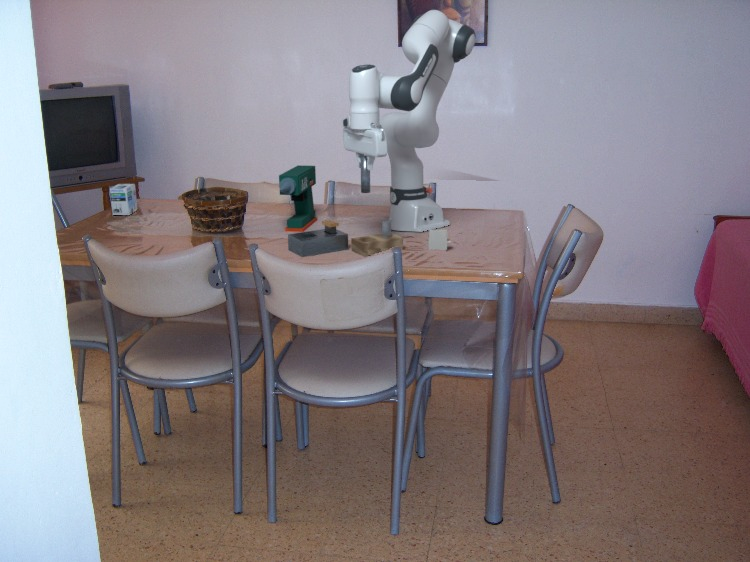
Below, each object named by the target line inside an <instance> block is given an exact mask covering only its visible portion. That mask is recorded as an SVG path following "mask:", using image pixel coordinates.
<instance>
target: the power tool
mask: <svg viewBox="0 0 750 562" xmlns="http://www.w3.org/2000/svg"><path fill="white" fill-rule="evenodd" d="M316 176H317V175H316V165H296V166H294V167H292V168H290V169H289V170H286V171H284V172H283V173H281V174H279V175H278V188H279V195H280V196H281V195H282V196H290V201H291V202H293V204H294V213H295V214H293V215H292V216H291V217H289V218H288V219H286V227H285V228H284V231H285V232H294V233H301V232H306V230H308V229H309V228H310V227H311V226H313V225H314V223H316V222H317V221H318V220H319V219H318V216H316V215H317V214H316V210H315V205H314V204H315V203H314V197H313V186H315V185H317V180H316V179H317V178H316Z"/></svg>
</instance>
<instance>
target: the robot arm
mask: <svg viewBox="0 0 750 562" xmlns="http://www.w3.org/2000/svg"><path fill="white" fill-rule="evenodd" d="M475 44H476V32H475V29H473V27H471V26H470V25H467V24H463V23H461V22H458V21H456V20H454V19H451V18H448V17H447V15H446V14H445V13H444V12H442V11H440V10H438V9H430V10H428V11H427V12H425V13H421V14H419V15H417V16H416V17H415V18H414V19H413V21H412V24H411V26H410V28H409V29H408V30H407V31H406V32H405V33H404V36H403V37H402V41H401V49H402V52H403V54H404V56H405V57H406V59H407V60H408V61H409V62H410V63H411V64H413V65H414V66H413V69H412V70H411V72H410V73H408V74H405V75H404V74H403V75H385V74H384V73H381V72H380V71H379V70H378V68H377V66H376V65H374V64H362V65H361V64H360V65H356V66H355V67H353V68H352V69H351V71H350V73H349V81H348V97H349V102H350V108H349V115H348V116H346V117H344V118H343V119H342V120H341V126H342V127H343V130H342V132H343V133H342V138H343V139H342V140H343V146H344V149H345V151H348V152H352V153H355V158H356V159H357V163H358V164H357V165H358V166H357V167H358V168H359V169H361V156H362V155H367V159H368V160H367V164H365V166H366V167H365V169H366V170H370V171H373V170H374V162H375V160H376V158H384V157H387V155H388V159H389V162H390V180H391V181H390V182H391V183H390V185H391V186H389V200H390V209H389V216H388V220H391V231H392V230H393V231H399V232H400V231H401V232H415V233H416V232H417V233H423V231H424V232H428V231H429V230H437V229H439V228H440V229H441V228H444V226H445V227H448V225H449V226H451V222H450V221H449V220H448V219H446V218H445V217H444V211H443V208H442V207H441V206H440V205H439V204H438V203H437V202H435V201H434V200H433V199H431V198H430V197H429V195H431V194H433V192H434V189H433V187H426V186H424V164H423V162H422V160H421V159H420V158H419V156H418V154H417V152H416V149H423V148H429V147H432V146H434V145H435V144H436V142H437V141H438V139H439V136H440V135H439V134H440V127H439V124H438V122H437V116H436V115H437V111H438V107H439V105H440V101H441V99H442V98H443V94H444V92H445V90H446V88H447V86H448V84H449V82H450V80H451V78H452V75H453V70H454V68H455V64H456V63H458V62H460V61H461V60H464V59H466V58H467V57H468V56H469V55H470V54H471V53H472V51H473V49H474V46H475ZM380 109H387V110H398V111H403V112H397V111H395V112H390V113H385V114H384V115H382V116H380ZM404 111H405V112H404ZM428 194H429V195H428ZM436 228H437V229H436ZM427 230H428V231H427Z"/></svg>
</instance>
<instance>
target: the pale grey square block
mask: <svg viewBox="0 0 750 562" xmlns="http://www.w3.org/2000/svg"><path fill="white" fill-rule="evenodd" d="M428 233H429V234H428V239H427V250H428V249H429V250H430V249H433V250H434V249H439V250H447V251H448V243H451V242H452V240H451V238H448V229H441V228H437V229H432V230H428Z"/></svg>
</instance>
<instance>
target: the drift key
mask: <svg viewBox="0 0 750 562" xmlns="http://www.w3.org/2000/svg"><path fill="white" fill-rule="evenodd" d="M321 225H322V226H324V229H325V233H328V234H330V235H331V234H336V229H337V227H339V226H340V223H339V222H337V221H335V220H332V219H326V220H322V221H321Z"/></svg>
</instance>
